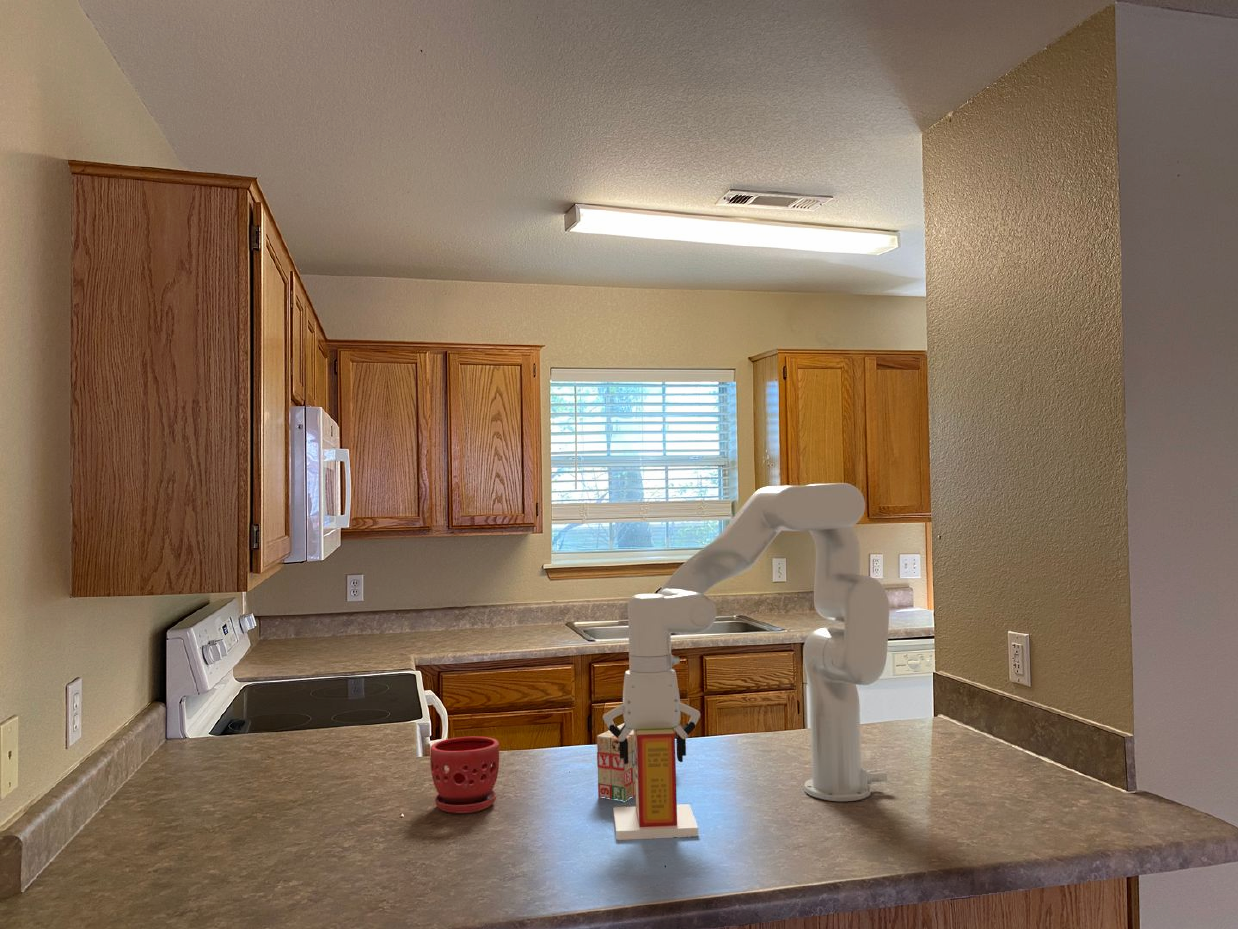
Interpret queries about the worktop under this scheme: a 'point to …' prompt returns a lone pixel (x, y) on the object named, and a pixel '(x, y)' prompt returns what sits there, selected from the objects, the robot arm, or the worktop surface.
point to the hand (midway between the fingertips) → (652, 761)
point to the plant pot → (465, 773)
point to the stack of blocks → (615, 767)
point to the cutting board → (630, 827)
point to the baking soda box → (655, 777)
